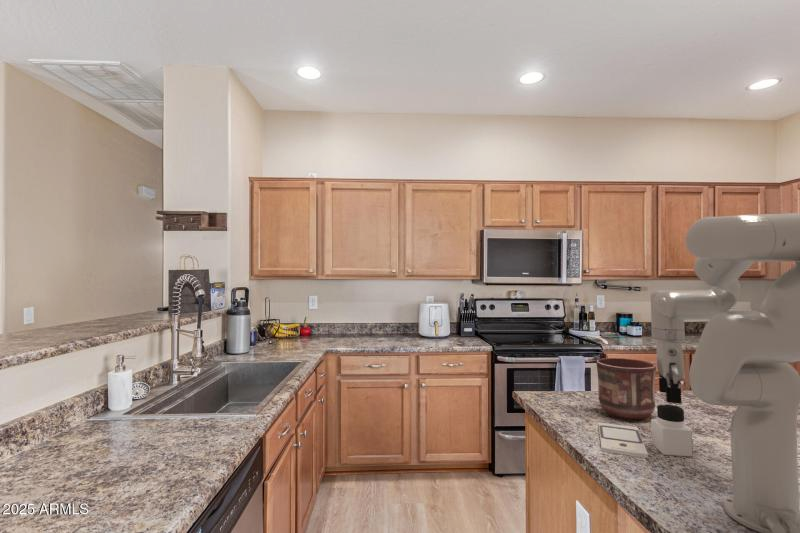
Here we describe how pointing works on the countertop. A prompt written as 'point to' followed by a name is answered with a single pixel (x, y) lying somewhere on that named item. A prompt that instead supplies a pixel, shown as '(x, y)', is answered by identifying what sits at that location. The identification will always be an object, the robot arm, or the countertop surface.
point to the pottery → (626, 388)
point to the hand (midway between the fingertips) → (669, 397)
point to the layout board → (621, 440)
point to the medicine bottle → (671, 431)
